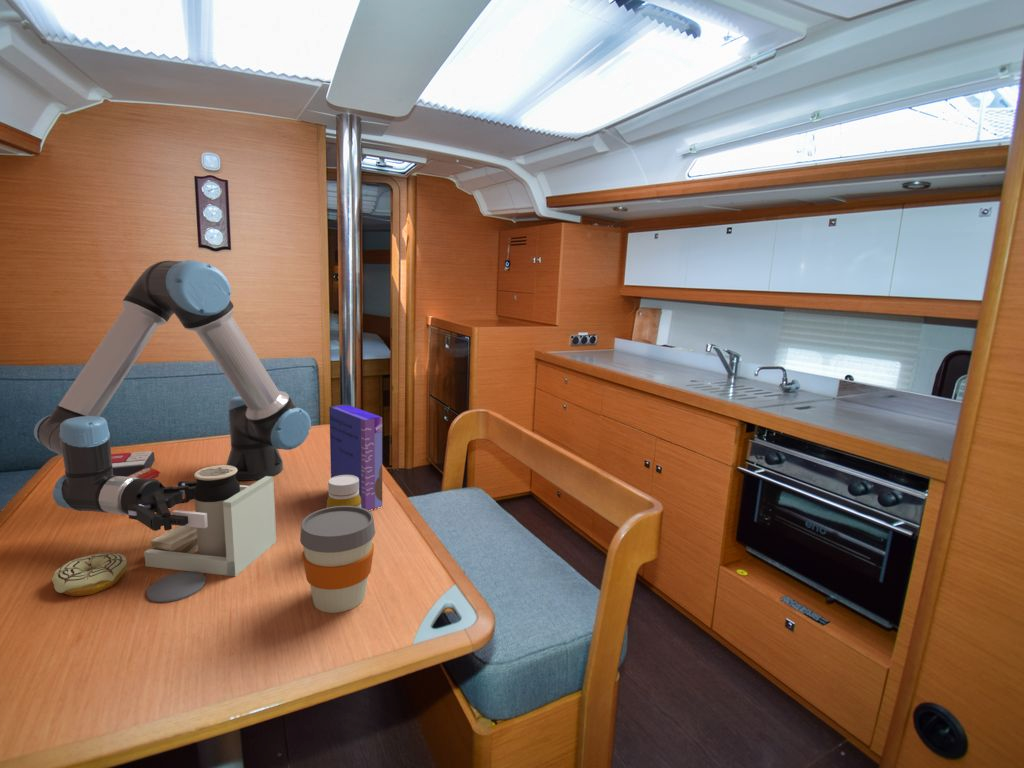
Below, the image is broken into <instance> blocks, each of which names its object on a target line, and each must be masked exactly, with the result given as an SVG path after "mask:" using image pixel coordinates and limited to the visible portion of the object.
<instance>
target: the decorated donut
mask: <svg viewBox="0 0 1024 768" xmlns="http://www.w3.org/2000/svg"><path fill="white" fill-rule="evenodd" d="M127 565H128V562H127V558H126V557H125V555H123V554H121V553H117V552H98V553H97V552H96V553H94V554H90V555H84V556H82V557H77V558H74V559H72V560H70V561H68V562H66V563H64V564H63V565H62V566H61V567H59V568H57V569H56V570H55V571H54V573H53V577H51V581H52V583H53V584H52V585H53V588H54V590H55V592H57V593H60V594H65V595H66V596H69V595H70V596H69V597H79V596H80V597H81V596H83V597H84V596H89V595H95V594H97V593H98V592H101V591H104V590H107V589H108V588H111V587H112V586H113V585H115V584H117V583H118V582H119V580H120V579H121V578H122V577H123V576H124V574H125V573H126V571H127Z"/></svg>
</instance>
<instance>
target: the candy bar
mask: <svg viewBox="0 0 1024 768" xmlns="http://www.w3.org/2000/svg"><path fill="white" fill-rule="evenodd" d="M160 474H161V472H160V471H159V470H158V469H156V468H152V467H151V468H145V469H143V470H141V471H139V472H136V473H134V474H132V475H130V476H128V477H136V478H144V479H153V478H154V479H156V478H157V477H159V475H160ZM155 477H156V478H155Z"/></svg>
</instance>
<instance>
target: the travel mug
mask: <svg viewBox="0 0 1024 768" xmlns="http://www.w3.org/2000/svg"><path fill="white" fill-rule="evenodd" d="M236 473H237V468H236V467H234V466H229V465H226V464H222V465H221V464H219V465H213V466H207V467H203V468H201V469H198V470H197V471H196V472H195V473H194V474H193V477H194V478H195V481H197V484H196V486H195V488H194V499H193V500H194V512H200V513H207V521H208V527H206V528H197V540H198V550H197V551H198V552H197V554H199V555H208V556H217V557H226V542H225V527H224V511H223V502H224V501H225V500H227V499H229V498H230V497H232V496H234V495H235V494H237V493H239V492H240V485H241V484H240V481H239V480H237V479H236V478H235V477H236Z"/></svg>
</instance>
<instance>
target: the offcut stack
mask: <svg viewBox="0 0 1024 768" xmlns="http://www.w3.org/2000/svg"><path fill="white" fill-rule="evenodd" d="M150 546H151V548H152V549H153V550H162V551H171V552H181V553H190V554H195V553H196V552H197V551H198V540H197V527H187V526H177V527H175V528H172V529H170V530H168V531H167V532H165V533H163V534H161V535H159V536H156V537H155V538H153V539H151V540H150Z"/></svg>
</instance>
